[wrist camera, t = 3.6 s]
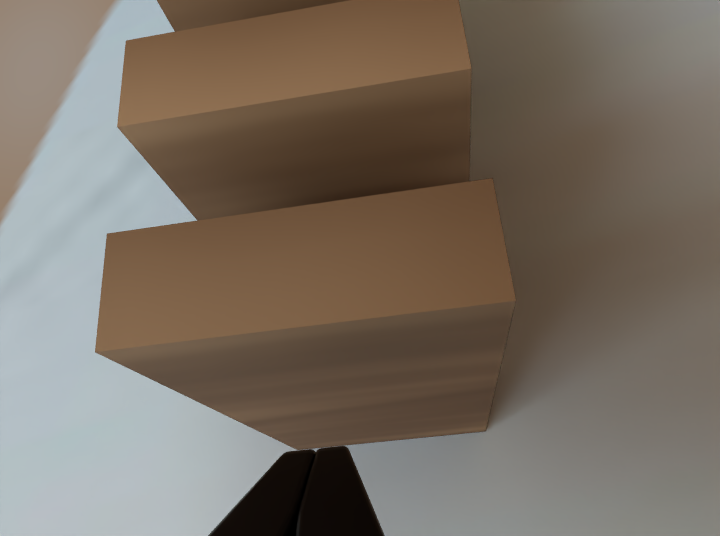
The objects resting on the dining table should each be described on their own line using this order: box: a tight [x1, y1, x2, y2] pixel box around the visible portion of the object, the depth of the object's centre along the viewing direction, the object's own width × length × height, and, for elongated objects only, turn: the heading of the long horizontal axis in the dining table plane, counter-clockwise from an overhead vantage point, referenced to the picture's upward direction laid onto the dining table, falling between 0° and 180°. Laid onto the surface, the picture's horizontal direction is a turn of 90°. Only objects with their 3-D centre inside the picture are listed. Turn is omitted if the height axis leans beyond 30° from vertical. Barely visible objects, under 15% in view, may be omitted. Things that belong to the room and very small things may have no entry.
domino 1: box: [157, 0, 349, 32], centre depth 15 cm, size 2×5×10 cm, turn 94°
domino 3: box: [95, 178, 516, 450], centre depth 12 cm, size 2×5×10 cm, turn 95°
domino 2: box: [117, 0, 471, 221], centre depth 13 cm, size 2×5×10 cm, turn 94°
